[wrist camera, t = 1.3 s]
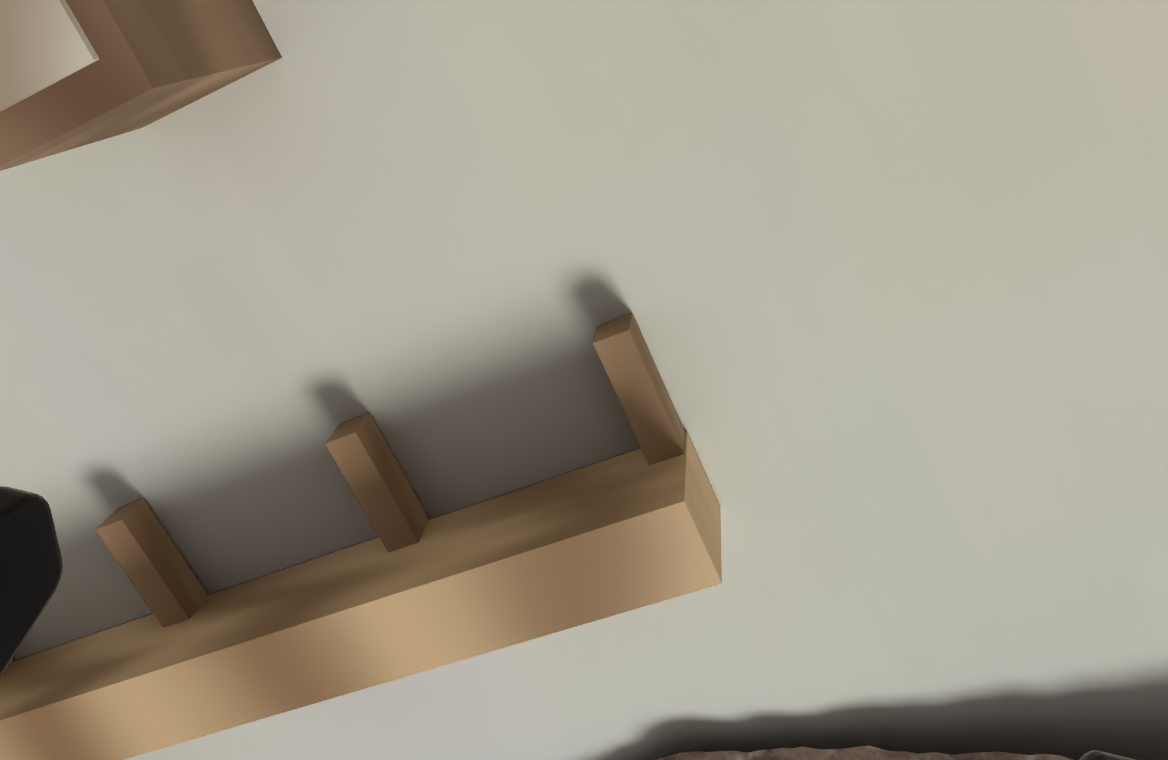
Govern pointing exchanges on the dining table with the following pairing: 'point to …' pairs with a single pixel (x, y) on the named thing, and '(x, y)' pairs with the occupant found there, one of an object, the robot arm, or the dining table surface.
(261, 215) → the dining table surface
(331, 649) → the rail
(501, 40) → the dining table surface
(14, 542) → the robot arm
